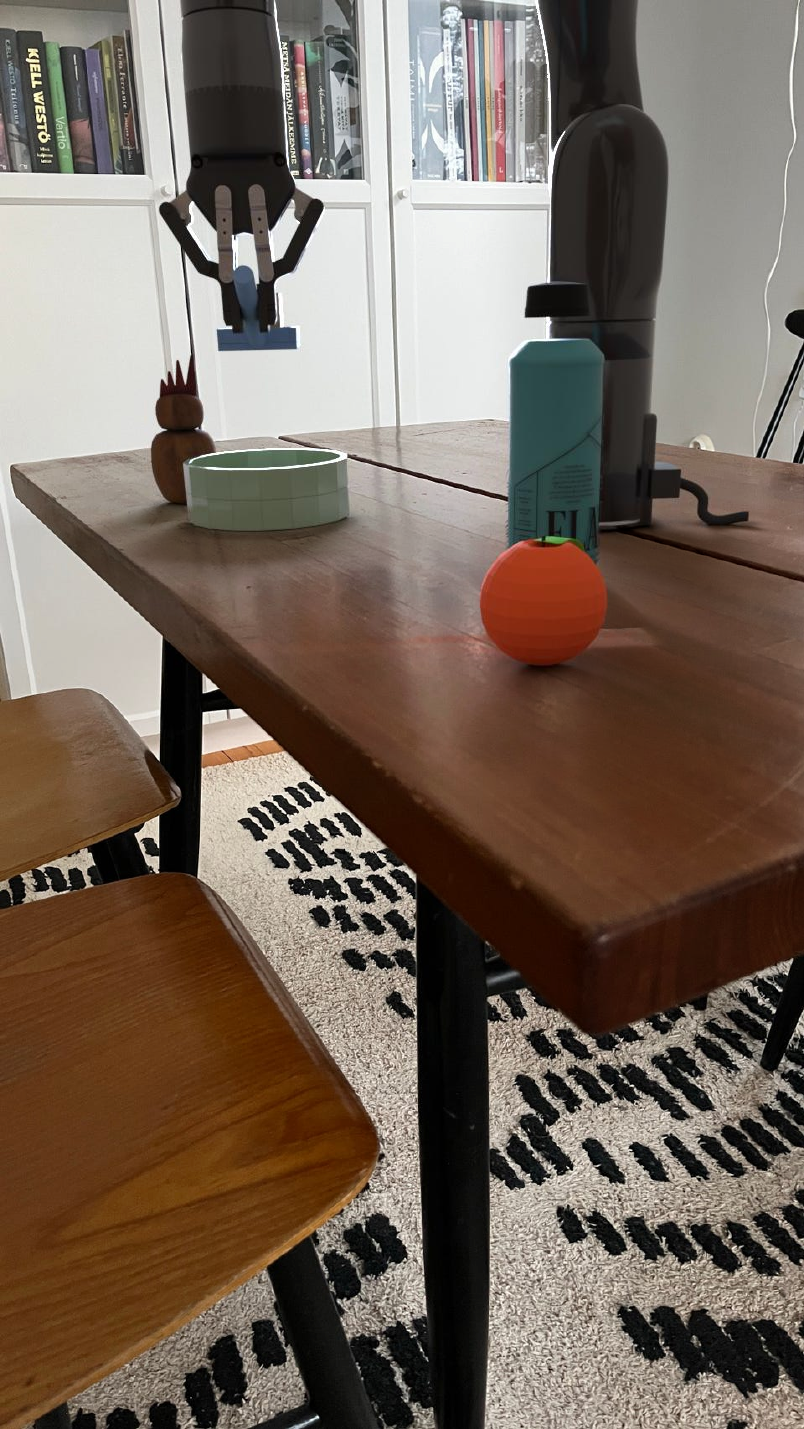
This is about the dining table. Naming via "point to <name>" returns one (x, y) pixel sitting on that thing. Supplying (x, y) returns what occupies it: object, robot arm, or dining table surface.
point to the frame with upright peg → (254, 322)
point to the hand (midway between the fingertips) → (251, 332)
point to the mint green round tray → (267, 489)
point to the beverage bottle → (555, 427)
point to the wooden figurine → (178, 433)
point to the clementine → (543, 601)
